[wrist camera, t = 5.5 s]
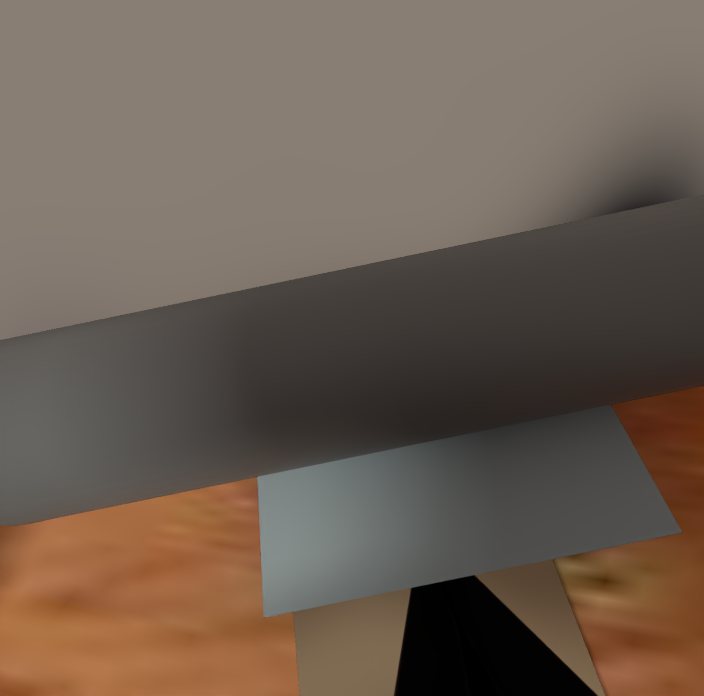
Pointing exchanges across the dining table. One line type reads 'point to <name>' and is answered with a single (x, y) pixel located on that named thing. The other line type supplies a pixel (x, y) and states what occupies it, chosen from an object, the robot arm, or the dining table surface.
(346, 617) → the tan base plate
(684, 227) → the grey t-shaped piece
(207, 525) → the dining table surface
